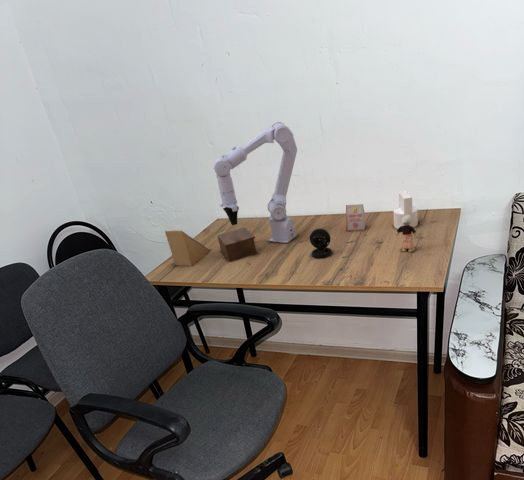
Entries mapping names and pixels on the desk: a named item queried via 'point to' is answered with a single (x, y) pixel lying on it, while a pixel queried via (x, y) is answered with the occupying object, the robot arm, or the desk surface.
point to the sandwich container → (185, 248)
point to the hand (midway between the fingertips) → (234, 224)
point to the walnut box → (238, 249)
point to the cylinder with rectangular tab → (405, 210)
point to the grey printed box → (355, 217)
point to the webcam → (320, 243)
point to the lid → (235, 236)
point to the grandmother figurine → (407, 234)
